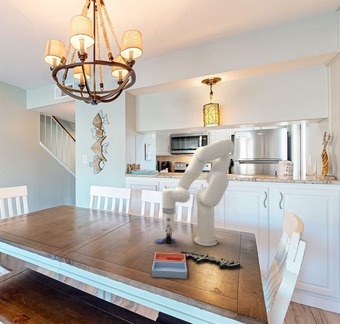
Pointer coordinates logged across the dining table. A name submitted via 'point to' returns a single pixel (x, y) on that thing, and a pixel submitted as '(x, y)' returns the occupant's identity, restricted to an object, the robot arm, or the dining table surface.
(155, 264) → the blue bin
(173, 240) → the blue spoon
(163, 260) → the red bin
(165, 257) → the red spoon
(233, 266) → the nameplate
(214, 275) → the dining table surface
